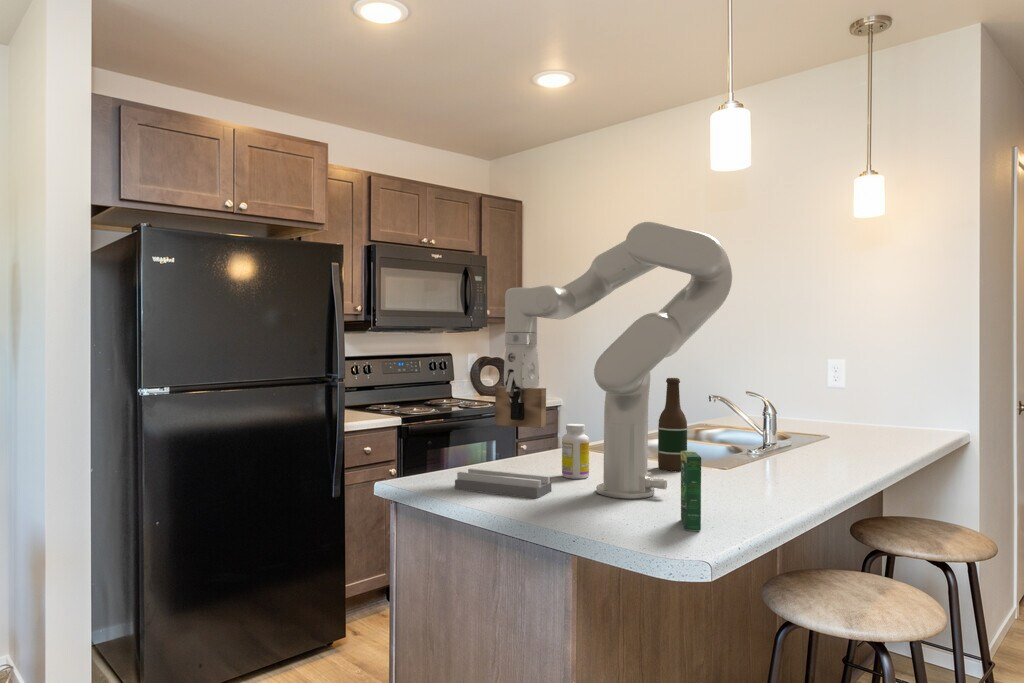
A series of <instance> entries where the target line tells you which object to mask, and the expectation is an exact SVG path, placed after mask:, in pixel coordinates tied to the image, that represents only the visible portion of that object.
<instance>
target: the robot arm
mask: <svg viewBox="0 0 1024 683" xmlns="http://www.w3.org/2000/svg"><path fill="white" fill-rule="evenodd" d="M731 266H732V265H731V263H730V259H729V256H728V254H727V251H726V250H725V248H724V247H723V246H722V244H721V243H720V242H719V241H718V240H717V239H716V238H715V237H713V236H711V235H710V234H707V233H703V232H699V231H695V230H690V229H686V228H680V227H675V226H670V225H667V224H662V223H658V222H654V221H643V222H640V223H637V224H636V225H634V226H633V227H632V228H631V229H630V230H629V232H628V233H627V234H626V237H625V240H624V241H621V242H619V243H618V244H616V245H615V246H612V247H611V248H609V249H607V250H606V251H603V252H602V253H599V254H598V255H597V256H595V258H593V261H592V262H591V264H590V266H589V268H588V270H586V271H585V272H584V273H583V274H581V275H580V276H579V277H577V278H576V279H574V280H572V281H571V282H569V283H567V284H565V285H564V286H561V287H560V286H554V285H550V284H549V285H540V286H534V287H523V286H522V287H521V286H520V287H511V288H508V289H507V290H506V291H505V297H504V298H505V299H504V300H505V302H504V304H505V305H504V310H505V311H504V347H505V351H504V352H505V353H504V361H503V362H504V363H503V385H504V386H503V387H506V393H507V394H508V395H509V397H510V403H511V420H524V403H522V400H523V390H525V389H528V388H539V386H540V367H539V366H540V365H539V355H538V348H537V347H538V318H542V319H549V320H550V319H551V320H557V321H558V320H561V321H562V320H566V319H569V318H571V317H573V316H574V315H577V314H578V313H580V312H582V311H585V310H586V309H588V308H591V307H592V306H593V305H595V304H596V303H598V302H600V301H601V300H603V299H605V298H606V297H607V296H609V295H611V293H613V292H614V291H615V290H617V289H619V288H621V287H623V286H624V285H626V284H628V283H630V282H631V281H634V280H635V279H638V278H639V277H641V276H643V275H645V274H648V273H649V272H651V271H653V270H654V269H656V268H658V267H660V268H663V269H669V270H672V271H677V272H681V273H684V274H688V275H690V279H689V281H688V283H687V284H686V285H685V286H684V287H683V288H682V289H681V290H680V291H678V292H677V293H676V294H675V295H674V296H673V297H672V299H670V300H669V302H667V303H666V304H665V305H664V306H663V307H662V308H661V309H659V310H658V311H656V312H649V313H646V314H644V315H642V316H640V317H639V318H638V319H636V320H635V321H634V322H632V323H631V325H630V326H628V327H627V329H626V330H624V331H623V332H622V334H620V336H618V337H617V339H615V340H614V341H613V342H612V343H611V344H610V345H609V346H608V347H607V348H606V349H605V350H604V351H603V352H602V353H601V354H600V355H599V357H598V358H597V360H596V362H595V364H594V369H593V374H594V380H595V382H596V384H597V385H598V388H600V389H601V390H602V391H604V392H605V396H604V408H603V410H604V412H603V480H602V481H603V483H600V484H597V485H596V493H597V494H599V495H601V496H605V497H610V498H615V499H645V498H650V497H652V496H654V495H655V489H657V490H667V488H668V481H667V480H665V479H663V478H654V477H653V476H652V471H648V459H649V458H648V446H649V444H648V443H649V442H648V438H649V433H648V432H649V430H648V429H649V424H648V423H649V400H650V399H649V396H650V386H651V371H652V370H653V369H654V368H655V367H656V366H658V364H660V363H661V362H662V361H663V360H664V359H665V358H666V359H667V358H669V357H672V356H673V355H675V354H676V353H677V352H678V351H679V350H680V349H681V347H682V346H683V345H684V344H685V343H686V342H687V341H688V340H689V339H691V337H692V336H693V335H695V333H696V332H697V331H698V330H700V328H701V327H702V326H703V325H704V324H705V323H706V322H707V321H708V320H710V318H711V317H712V316H714V315H715V313H716V312H717V311H718V310H719V309H720V308H721V306H722V305H723V304H724V302H726V300H727V298H728V296H729V294H730V291H731V287H732V284H733V283H732V282H733V272H732V271H733V270H732V267H731ZM514 387H519V389H514ZM517 392H518V393H517Z"/></svg>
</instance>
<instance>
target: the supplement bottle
mask: <svg viewBox="0 0 1024 683" xmlns="http://www.w3.org/2000/svg"><path fill="white" fill-rule="evenodd" d="M565 430H566V433H565V434H564V435H563V436H562V438H561V475H562V477H563V478H565V479H573V480H574V479H575V480H581V479H587V478H588V477H589V476H590V438H589V436H588V435H586V434H585V430H586V424H583V423H567V424H566V425H565Z"/></svg>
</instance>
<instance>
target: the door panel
mask: <svg viewBox="0 0 1024 683" xmlns="http://www.w3.org/2000/svg"><path fill="white" fill-rule="evenodd" d="M514 389H519V387H514ZM517 393H518V392H517ZM494 395H495V398H494V399H495V402H494V403H495V404H494V407H495V410H494V411H495V412H494V414H495V416H494V417H495V418H494V419H495V420H494V421H495V422H494V425H495V426H504V427H516V428H517V427H520V428H535V429H544V428H547V388H546V387H537V388H528V389H525V390H523V400H522V403H524V420H511V403H510V397H509V395H508V394H507V393H506V387H505V386H501V385H500V386H495V394H494Z"/></svg>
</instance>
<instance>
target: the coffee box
mask: <svg viewBox="0 0 1024 683" xmlns="http://www.w3.org/2000/svg"><path fill="white" fill-rule="evenodd" d="M701 515H702V456H700V454H698V452H696V451H695V450H687V451H681V471H680V520H681V522H682V524H683V528H684V529H685V531H687V532H699V531H701V529H702V527H701V526H702V524H701V522H702V521H701V520H702V516H701Z"/></svg>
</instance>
